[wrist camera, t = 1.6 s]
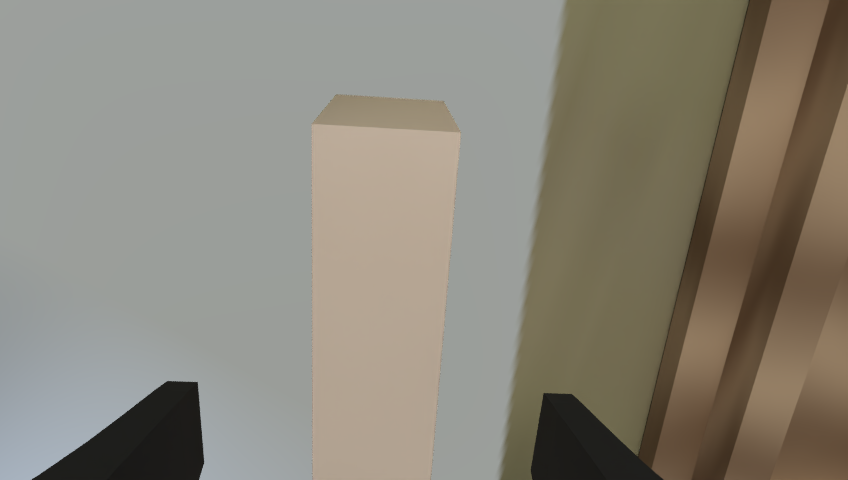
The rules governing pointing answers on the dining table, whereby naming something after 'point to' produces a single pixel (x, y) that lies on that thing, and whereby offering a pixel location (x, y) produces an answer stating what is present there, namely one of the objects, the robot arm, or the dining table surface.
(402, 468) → the clay bar
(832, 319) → the rack
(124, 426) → the robot arm
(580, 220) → the dining table surface
